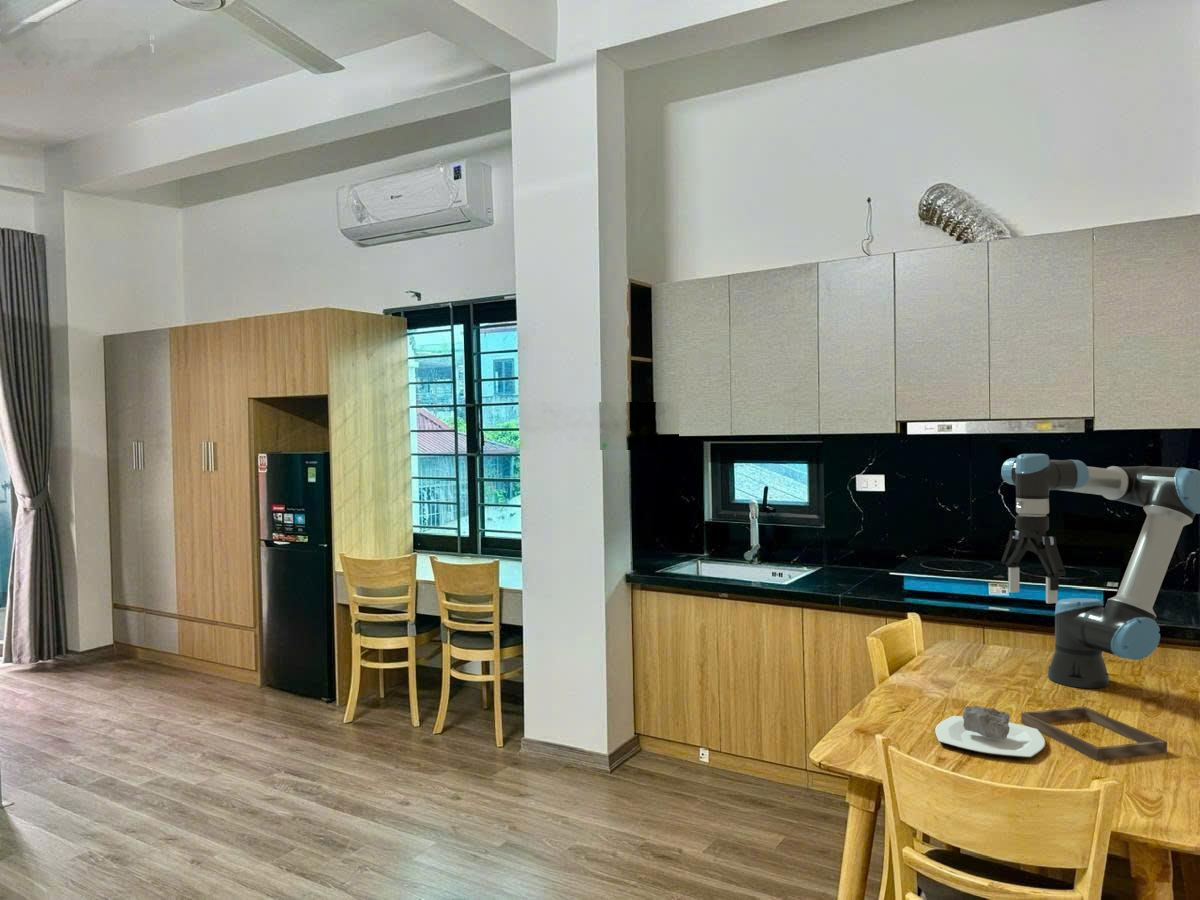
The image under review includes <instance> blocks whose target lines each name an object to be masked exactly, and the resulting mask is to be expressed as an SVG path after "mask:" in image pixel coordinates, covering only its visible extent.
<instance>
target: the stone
mask: <svg viewBox="0 0 1200 900" xmlns="http://www.w3.org/2000/svg"><path fill="white" fill-rule="evenodd" d="M962 716H963V719H964V724H963V726H964V729H965V730H967V731H972V732H977V733H979V734H981V735H983V736H986V737H993V738H996V739H1005V738H1006V737H1007V735H1008V733H1009V729H1010V728H1009V726H1008V723H1009V722H1010V718H1011V715H1010V714H1009V713H1008V712H1006V711H1003V710H1000V711H999V710H997V709H995V708H993V707H988V708H987V707H984V706H978V705H973V706H969V705H967V706H965V707H964V708H963V714H962Z"/></svg>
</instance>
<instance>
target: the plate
mask: <svg viewBox="0 0 1200 900" xmlns="http://www.w3.org/2000/svg"><path fill="white" fill-rule="evenodd" d="M963 724H964V719H963V715H962V716H961V715H951V716H949V717H946V718H945V719H943V720H941V721H940V722H939V723H938V724H937V725H936V726H935V730H934V733H935V734H936V738H937V740H938V742H939V743H941V744H946V745H948V746H951V747H954V748H958V749H961V750H962V749H963V750H964V751H965V750H966V751H970V752H974V753H979V754H980V753H981V754H986V755H993V756H999V757H1000V756H1001V757H1008V758H1009V757H1010V758H1025V759H1026V758H1028V759H1031V758H1033V757H1034V756H1036V755H1037V754H1039V753H1040V752H1041V751H1043V749H1044V748H1045V746H1046V740H1045V738H1044V736H1043V735H1042V733H1041V732H1039V731H1038V729H1035V728H1031V727H1029V726H1027V725H1024V724H1018V723H1014V722H1010V721H1009V723H1008V726H1009V728H1010V729H1009V733H1008V735H1007V737H1006V738H1005V739H996V738H993V737H986V736H983V735H981V734H979V733H977V732H972V731H967V730H965V729H964V726H963Z"/></svg>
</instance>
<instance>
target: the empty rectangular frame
mask: <svg viewBox="0 0 1200 900" xmlns="http://www.w3.org/2000/svg"><path fill="white" fill-rule="evenodd" d="M1020 719H1021V720H1020V721H1021V722H1020V723H1021V724H1022V725H1024V726H1027V727H1031V728H1035V729H1038V731H1039V732H1040V733H1041V734H1043V735H1045V736H1047V737H1049V738H1050V739H1053V740H1054V741H1057V742H1059V743H1061V744H1063V745H1064V746H1067V747H1069V748H1071V749H1073V750H1075V751H1077V752H1078V753H1081V754H1083V755H1085V756H1087V757H1088V758H1091V759H1093V760H1095V761H1097V762H1101V761H1109V760H1116V759H1125V758H1127V759H1128V758H1135V757H1143V756H1154V755H1161V754H1162V755H1163V754H1167V753H1168V741H1165V740H1164V739H1162V738H1159V737H1156V736H1155V735H1152V734H1150V733H1148V732H1145V731H1142V730H1141V729H1138V728H1136V727H1133V726H1131V725H1129V724H1126V723H1124V722H1122V721H1120V720H1117V719H1114V718H1112V717H1109V716H1108V715H1106V714H1103V713H1100V712H1098V711H1096V710H1094V709H1091V708H1089V707H1087V706H1077V707H1065V708H1056V709H1046V710H1036V711H1034V710H1033V711H1025V712H1021V714H1020ZM1079 719H1080V720H1081V719H1085V720H1087V721H1089V722H1092V723H1094V724H1096V725H1099V726H1101V727H1103V728H1105V729H1108V730H1110V731H1113V733H1116V734H1119V735H1121V736H1123V737H1125V738H1128V739H1130V740H1131V741H1135V742H1134V743H1125V744H1119V745H1118V744H1116V745H1107V746H1096V745H1094V744H1091V743H1090V742H1088V741H1086V740H1083V739H1082V738H1080V737H1078V736H1075V735H1073V734H1071V733H1070V732H1067V731H1064V730H1062V729H1061V728H1059V727H1056V726H1055V725H1052V724H1051V723H1050V722H1049V721H1051V722H1059V721H1060V722H1061V721H1069V720H1071V721H1072V720H1079Z"/></svg>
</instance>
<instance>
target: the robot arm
mask: <svg viewBox="0 0 1200 900" xmlns="http://www.w3.org/2000/svg"><path fill="white" fill-rule="evenodd" d="M1000 473H1001V474H1000V476H1001V478H1002V480H1003V481H1004V482H1005V483H1006V484H1008V485H1012V486H1015V512H1016V513H1017V514H1016V516H1015V529H1016V530H1010V531H1009V539H1008V541H1007V544H1006V547H1005V550H1004V552H1003V554H1002V558H1001V564H1005V566H1006V567H1007V579H1008V593H1011V594H1012V593H1020V565H1019V563H1020V562H1021V560H1022V559H1023V558H1024V556H1025V555H1026V553H1027V552H1028V551H1029V552H1031V553H1034V554H1035V555H1036V556H1037V557H1038V558H1039V560H1040V562H1041V565H1042V566H1043V569H1045V572H1046V574H1047V576H1045V603H1046V604H1055V611H1054V653H1053V654H1052V655H1053V656H1052V658H1051V662H1050V664H1049V666H1048V669H1047V678H1048V679H1049V680H1050V681H1052V682H1055V683H1058V684H1061V685H1063V686H1069V687H1072V688H1073V687H1074V688H1082V689H1099V688H1105V687H1108V686H1109V685H1110V675H1109V673H1108V669H1107V667H1106V664H1105V659H1104V658H1103V653H1107V654H1110V655H1113V656H1116V657H1118V658H1121V659H1128V660H1132V661H1138V660H1143V659H1145V658H1147V657H1149V656H1150V655H1151V654H1153V653H1154V652H1155V650H1156V649H1157V648H1158V646H1159V644H1160V640H1161V633H1160V631H1161V630H1160V625H1159V624H1158V623H1157V621H1156V619H1157V615H1156V613H1155V611H1154V604H1155V602H1156V600H1157V597H1158V594H1159V591H1160V589H1161V586H1162V583H1163V581H1164V578H1165V576H1166V574H1167V571H1168V567H1169V565H1170V562H1171V559H1172V558H1173V555H1174V552H1175V549H1176V546H1177V544H1178V542H1179V539H1180V536H1181V533H1182V531H1183V528H1184V527H1185V526H1187V525H1190V524H1192V523H1193V521H1194V518H1195V516H1196V514H1197V515H1199V514H1200V470H1198V469H1194V468H1187V467H1183V466H1182V467H1170V466H1169V467H1168V466H1154V465H1153V466H1150V465H1138V466H1115V465H1111V466H1108V467H1105V468H1104V467H1096V466H1087V464H1086V463H1084V461H1082V460H1079V459H1064V460H1063V459H1061V460H1060V459H1050V456H1049V455H1048V454H1045V453H1021V454H1019V455H1017V456H1016V457H1010V458H1008V459H1006V460H1005V461H1004V462H1003V464H1002V466H1001V472H1000ZM1050 491H1064V492H1073V493H1081V494H1088V495H1089V494H1091V495H1098V496H1102V497H1103V498H1105V499H1107V500H1110V501H1116V502H1117V501H1118V502H1121V503H1126V504H1130V505H1134V506H1137V507H1143V508H1142V509H1143V511H1144V512H1145V514H1146V518H1145V520H1144V523H1143V525H1142V528H1141V530H1140V533H1139V536H1138V539H1137V541H1136V544H1135V547H1134V549H1133V552H1132V554H1131V557H1130V559H1129V561H1128V564H1127V566H1126V570H1125V572H1124V574H1123V577H1122V580H1121V582H1120V584H1119V585H1120V586H1119V588H1118V591H1117V593H1116V595H1114V596H1113V597H1110V598H1108V599H1107V601H1106V603H1105V607H1104V604H1103V603H1104V602H1103V601H1102V600H1101V599H1098V598H1089V597H1088V598H1084V597H1083V598H1081V597H1080V598H1077V597H1076V598H1075V597H1074V598H1063V599H1059V600H1058V591H1059V589H1060V583H1059V581H1060V577H1064V576H1066V575H1067V571H1066V570H1065V567H1064V563H1063V559H1062V557H1061V555H1060V552H1059V549H1058V546H1057V537H1056V536H1047V534H1046V532H1047V531H1049V529H1050V517H1049V516H1048V515H1049V513H1050Z"/></svg>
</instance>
